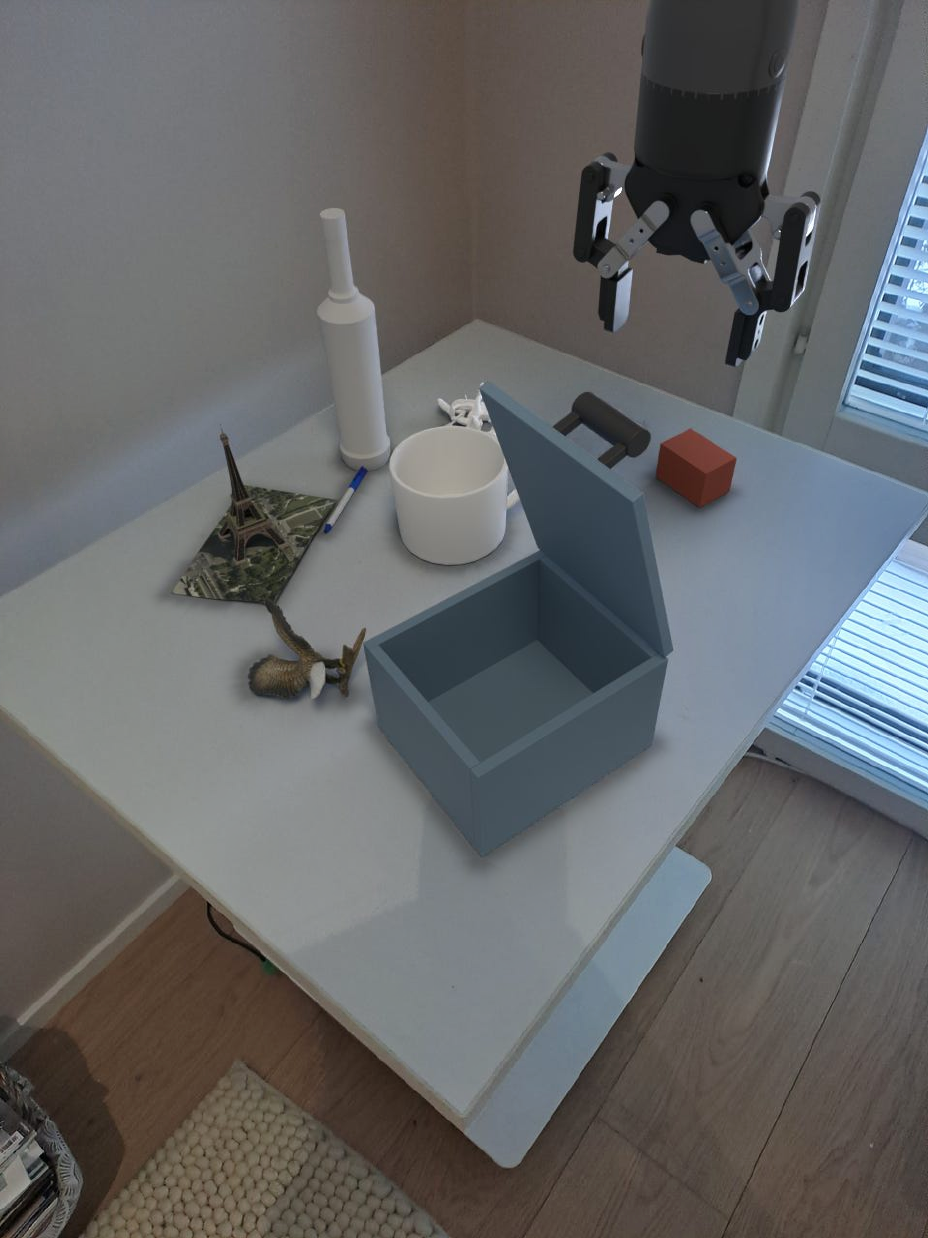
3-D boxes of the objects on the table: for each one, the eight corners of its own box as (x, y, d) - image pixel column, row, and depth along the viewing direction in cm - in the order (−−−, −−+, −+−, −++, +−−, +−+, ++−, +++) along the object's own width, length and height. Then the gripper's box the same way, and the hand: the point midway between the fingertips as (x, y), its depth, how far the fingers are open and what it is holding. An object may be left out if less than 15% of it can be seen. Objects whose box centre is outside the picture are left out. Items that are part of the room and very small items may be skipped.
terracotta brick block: (729, 491, 86) (737, 457, 83) (699, 507, 85) (706, 473, 82) (685, 461, 90) (690, 427, 87) (655, 476, 88) (660, 443, 85)
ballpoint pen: (361, 467, 92) (360, 459, 91) (369, 468, 91) (368, 460, 91) (323, 534, 85) (321, 526, 84) (331, 535, 85) (330, 527, 84)
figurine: (511, 450, 93) (433, 448, 93) (511, 406, 98) (438, 403, 98) (512, 426, 91) (433, 423, 91) (512, 382, 96) (437, 379, 96)
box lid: (632, 502, 46) (704, 443, 47) (477, 387, 54) (541, 338, 54) (665, 658, 59) (720, 611, 60) (537, 547, 67) (587, 507, 68)
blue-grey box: (481, 858, 61) (477, 778, 54) (378, 727, 69) (362, 642, 62) (652, 744, 67) (668, 658, 60) (538, 636, 75) (541, 548, 67)
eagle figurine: (375, 635, 74) (274, 601, 75) (361, 622, 67) (249, 585, 68) (343, 723, 73) (241, 687, 74) (325, 720, 66) (213, 680, 67)
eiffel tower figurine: (276, 611, 78) (242, 489, 68) (171, 593, 80) (123, 472, 70) (337, 502, 88) (314, 383, 78) (242, 489, 90) (209, 370, 80)
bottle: (347, 440, 94) (309, 198, 76) (396, 442, 94) (369, 200, 75) (336, 471, 91) (293, 226, 72) (386, 474, 90) (356, 228, 72)
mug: (403, 576, 80) (394, 505, 74) (391, 502, 87) (383, 432, 81) (550, 556, 81) (553, 485, 75) (527, 484, 88) (528, 414, 82)
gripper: (874, 60, 46) (800, 345, 58) (624, 27, 52) (603, 293, 64) (825, 105, 42) (756, 402, 54) (560, 64, 48) (550, 340, 60)
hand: (673, 342), depth 59 cm, fingers open, 8 cm apart
